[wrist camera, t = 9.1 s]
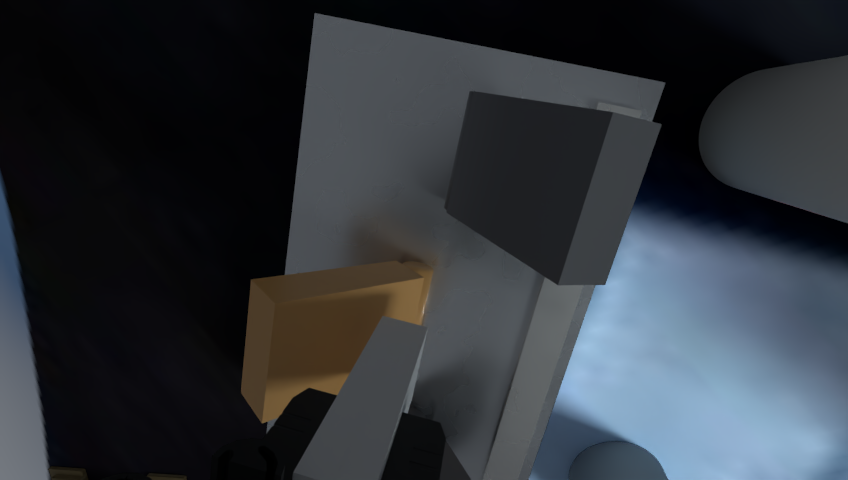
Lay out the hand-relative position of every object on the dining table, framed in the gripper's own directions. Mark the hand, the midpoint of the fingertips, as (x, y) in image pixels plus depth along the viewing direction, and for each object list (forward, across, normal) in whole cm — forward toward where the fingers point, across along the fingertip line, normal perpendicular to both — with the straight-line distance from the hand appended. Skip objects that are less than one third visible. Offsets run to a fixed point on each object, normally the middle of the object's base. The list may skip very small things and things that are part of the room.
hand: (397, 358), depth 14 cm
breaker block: (+9, 0, 0) cm, 9 cm away
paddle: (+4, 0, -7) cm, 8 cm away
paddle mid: (+4, 0, 0) cm, 4 cm away
